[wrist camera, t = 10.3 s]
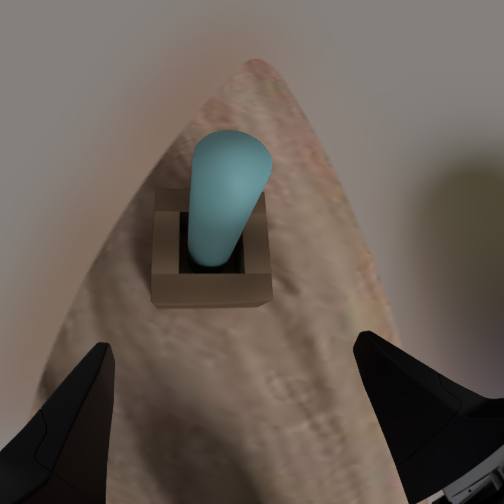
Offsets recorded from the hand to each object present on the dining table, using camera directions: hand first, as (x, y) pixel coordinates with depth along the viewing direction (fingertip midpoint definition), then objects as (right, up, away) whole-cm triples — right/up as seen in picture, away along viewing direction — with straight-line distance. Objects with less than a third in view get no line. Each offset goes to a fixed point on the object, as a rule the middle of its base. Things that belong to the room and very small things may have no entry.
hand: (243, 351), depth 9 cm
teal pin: (-3, +3, +14) cm, 14 cm away
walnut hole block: (-3, +3, +14) cm, 15 cm away
